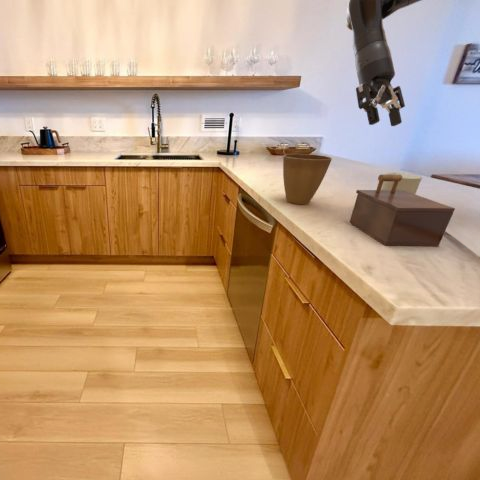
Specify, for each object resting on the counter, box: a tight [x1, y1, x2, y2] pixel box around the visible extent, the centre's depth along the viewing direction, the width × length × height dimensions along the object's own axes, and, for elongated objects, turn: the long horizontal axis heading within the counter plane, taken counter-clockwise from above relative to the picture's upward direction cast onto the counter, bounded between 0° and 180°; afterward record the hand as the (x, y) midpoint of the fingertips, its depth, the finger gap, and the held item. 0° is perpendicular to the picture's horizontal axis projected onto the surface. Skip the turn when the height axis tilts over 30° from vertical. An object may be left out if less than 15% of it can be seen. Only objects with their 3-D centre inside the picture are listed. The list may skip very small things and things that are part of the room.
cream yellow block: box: [381, 172, 423, 195], centre depth 91 cm, size 9×9×12 cm
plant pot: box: [282, 153, 333, 205], centre depth 100 cm, size 15×15×16 cm
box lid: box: [356, 174, 456, 213], centre depth 72 cm, size 16×13×6 cm
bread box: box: [349, 193, 454, 247], centre depth 75 cm, size 16×13×9 cm
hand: (385, 124), depth 75 cm, fingers open, 8 cm apart
